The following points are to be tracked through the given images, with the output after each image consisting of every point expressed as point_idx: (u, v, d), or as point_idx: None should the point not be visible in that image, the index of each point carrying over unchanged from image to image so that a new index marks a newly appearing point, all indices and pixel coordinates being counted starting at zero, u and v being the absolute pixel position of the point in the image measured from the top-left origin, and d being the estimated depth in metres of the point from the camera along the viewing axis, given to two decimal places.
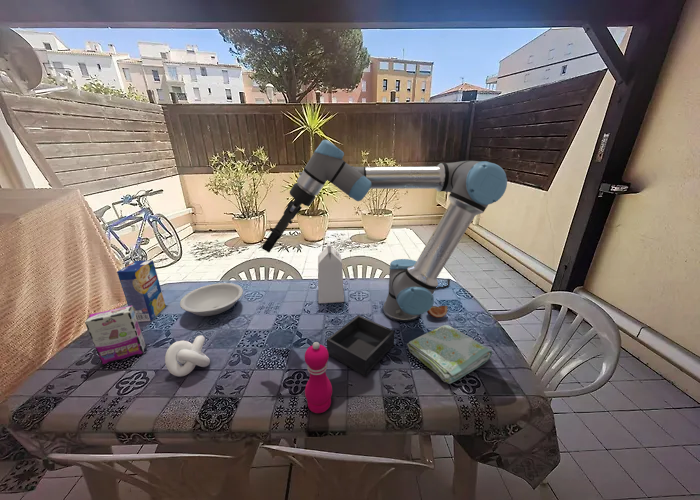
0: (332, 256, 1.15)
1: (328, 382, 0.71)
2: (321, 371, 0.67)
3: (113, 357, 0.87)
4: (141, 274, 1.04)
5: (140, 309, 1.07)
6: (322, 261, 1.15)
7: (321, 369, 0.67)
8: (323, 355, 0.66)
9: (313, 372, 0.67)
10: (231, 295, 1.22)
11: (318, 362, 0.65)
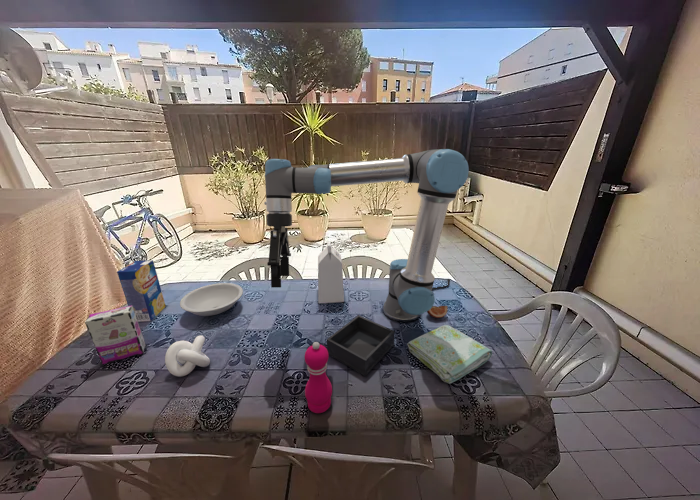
0: (332, 256, 1.15)
1: (328, 382, 0.71)
2: (321, 371, 0.67)
3: (113, 357, 0.87)
4: (141, 274, 1.04)
5: (140, 309, 1.07)
6: (322, 261, 1.15)
7: (321, 369, 0.67)
8: (323, 355, 0.66)
9: (313, 372, 0.67)
10: (231, 295, 1.22)
11: (317, 362, 0.65)
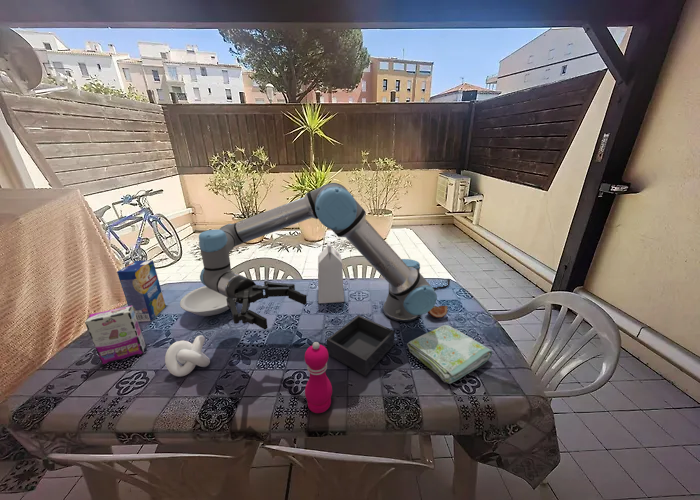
0: (332, 256, 1.15)
1: (328, 382, 0.71)
2: (321, 371, 0.67)
3: (113, 357, 0.87)
4: (141, 274, 1.04)
5: (140, 309, 1.07)
6: (322, 261, 1.15)
7: (321, 369, 0.67)
8: (323, 355, 0.66)
9: (313, 372, 0.67)
10: None
11: (317, 362, 0.65)
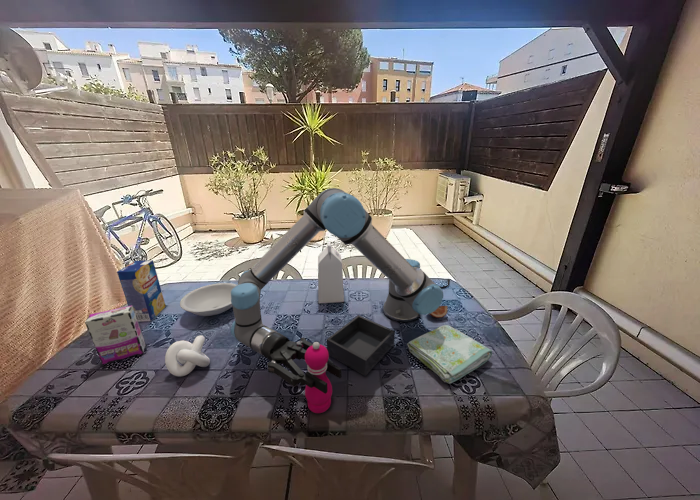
0: (332, 256, 1.15)
1: (328, 382, 0.71)
2: (321, 371, 0.67)
3: (113, 357, 0.87)
4: (141, 274, 1.04)
5: (140, 309, 1.07)
6: (322, 261, 1.15)
7: (321, 369, 0.67)
8: (323, 355, 0.66)
9: (313, 372, 0.67)
10: None
11: (318, 362, 0.65)
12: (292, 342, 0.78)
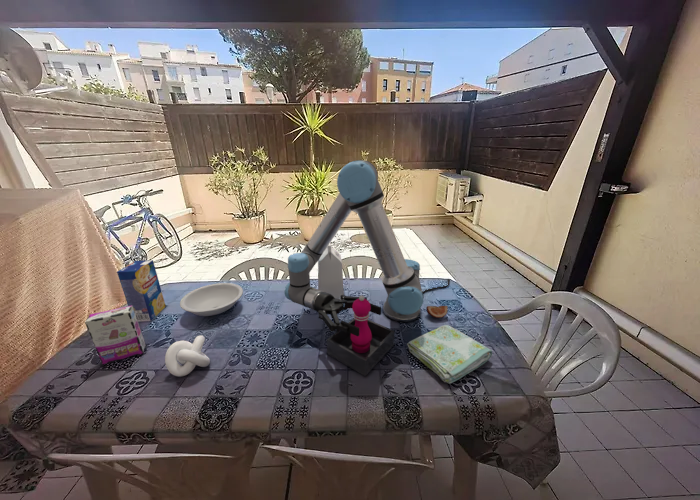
0: (332, 256, 1.15)
1: (369, 329, 0.90)
2: (365, 318, 0.86)
3: (113, 357, 0.87)
4: (141, 274, 1.04)
5: (140, 309, 1.07)
6: (322, 261, 1.15)
7: (365, 316, 0.86)
8: (367, 305, 0.85)
9: (359, 318, 0.86)
10: (231, 295, 1.22)
11: (364, 310, 0.84)
12: (337, 299, 0.97)
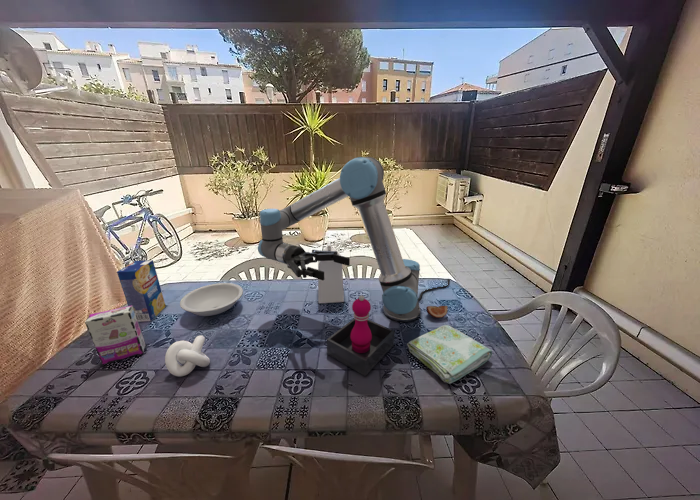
0: None
1: (369, 329, 0.90)
2: (365, 318, 0.86)
3: (113, 357, 0.87)
4: (141, 274, 1.04)
5: (140, 309, 1.07)
6: (322, 261, 1.15)
7: (365, 316, 0.86)
8: (367, 305, 0.85)
9: (359, 318, 0.86)
10: (231, 295, 1.22)
11: (363, 310, 0.84)
12: None
